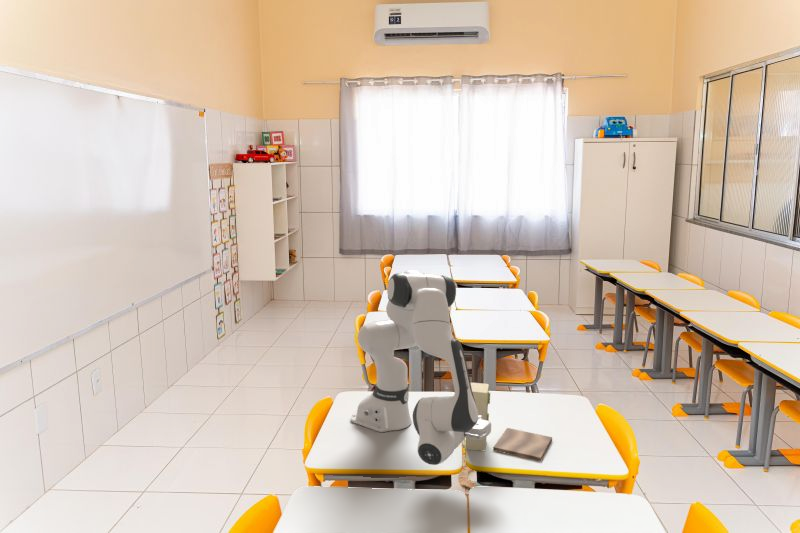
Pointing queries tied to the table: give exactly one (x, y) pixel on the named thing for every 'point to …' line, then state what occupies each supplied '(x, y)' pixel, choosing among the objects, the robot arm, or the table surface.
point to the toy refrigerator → (479, 412)
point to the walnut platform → (523, 444)
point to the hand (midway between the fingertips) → (466, 414)
